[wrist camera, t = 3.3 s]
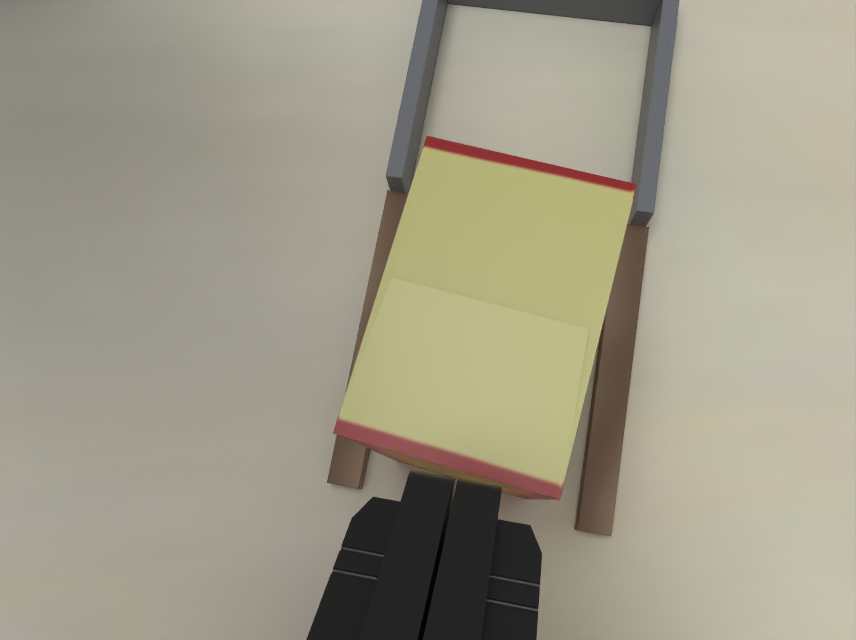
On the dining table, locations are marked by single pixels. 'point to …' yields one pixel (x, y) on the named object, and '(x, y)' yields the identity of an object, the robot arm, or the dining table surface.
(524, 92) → the dining table surface
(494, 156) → the baking soda box
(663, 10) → the tray
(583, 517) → the slot rails
